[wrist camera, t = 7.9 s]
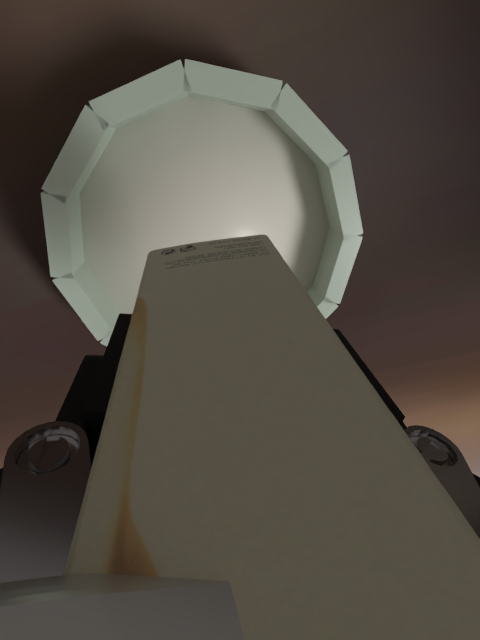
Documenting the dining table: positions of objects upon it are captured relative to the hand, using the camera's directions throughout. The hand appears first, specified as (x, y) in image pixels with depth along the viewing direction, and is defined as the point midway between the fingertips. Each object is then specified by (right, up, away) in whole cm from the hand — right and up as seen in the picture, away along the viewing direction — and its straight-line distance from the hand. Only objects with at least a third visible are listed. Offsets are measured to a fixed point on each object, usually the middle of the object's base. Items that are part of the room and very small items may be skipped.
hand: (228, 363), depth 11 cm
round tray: (-2, +7, +12) cm, 14 cm away
